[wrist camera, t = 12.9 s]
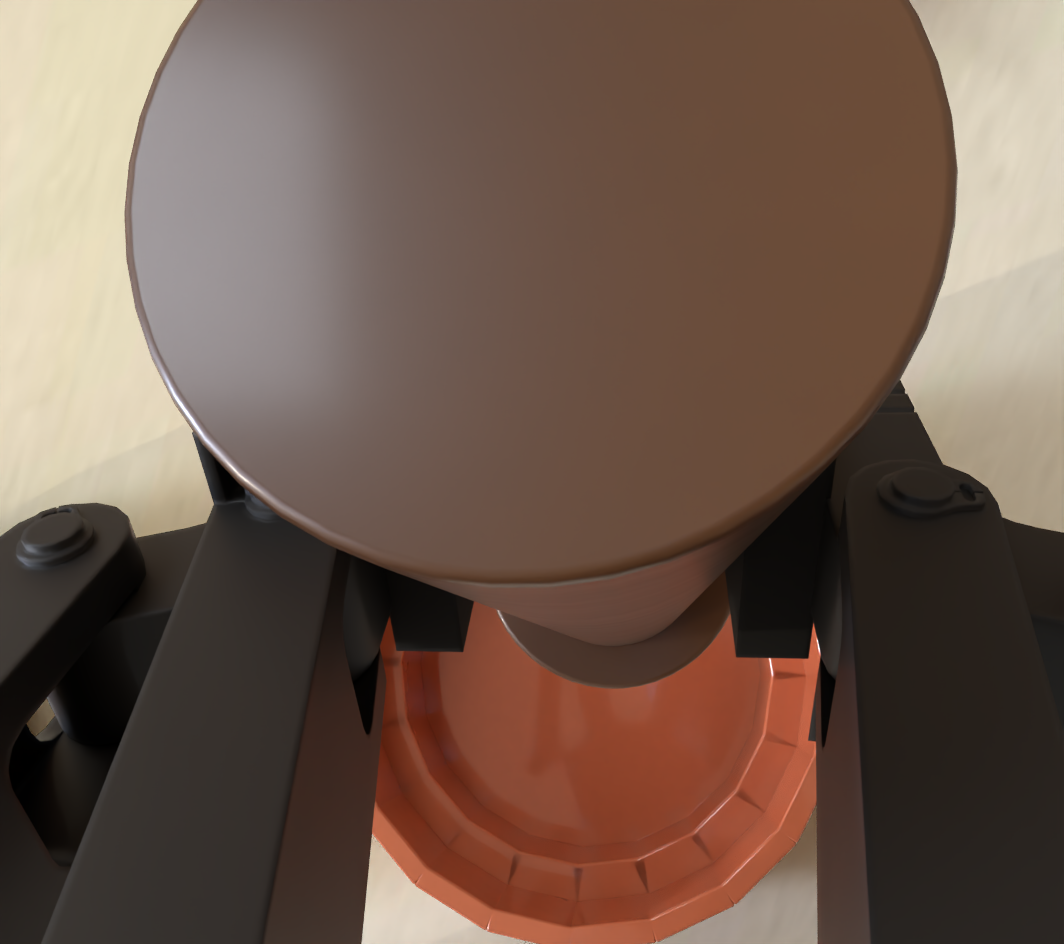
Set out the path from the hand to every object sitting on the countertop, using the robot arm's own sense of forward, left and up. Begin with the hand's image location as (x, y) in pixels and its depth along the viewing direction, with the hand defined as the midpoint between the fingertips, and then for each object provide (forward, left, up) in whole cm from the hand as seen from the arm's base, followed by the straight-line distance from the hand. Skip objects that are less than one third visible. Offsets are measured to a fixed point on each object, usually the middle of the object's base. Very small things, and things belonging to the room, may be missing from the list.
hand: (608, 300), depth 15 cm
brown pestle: (-1, +4, -5) cm, 6 cm away
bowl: (0, +6, -18) cm, 19 cm away
